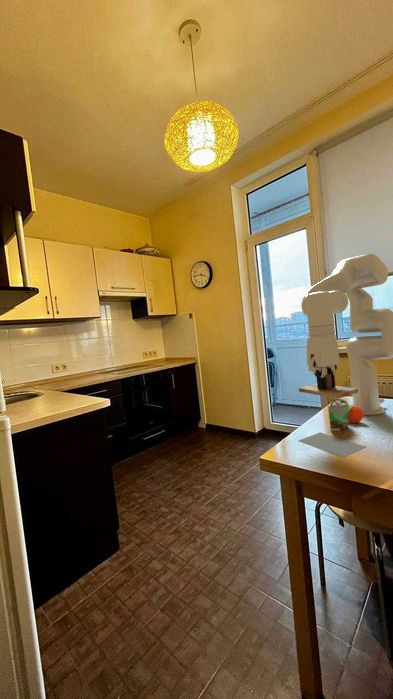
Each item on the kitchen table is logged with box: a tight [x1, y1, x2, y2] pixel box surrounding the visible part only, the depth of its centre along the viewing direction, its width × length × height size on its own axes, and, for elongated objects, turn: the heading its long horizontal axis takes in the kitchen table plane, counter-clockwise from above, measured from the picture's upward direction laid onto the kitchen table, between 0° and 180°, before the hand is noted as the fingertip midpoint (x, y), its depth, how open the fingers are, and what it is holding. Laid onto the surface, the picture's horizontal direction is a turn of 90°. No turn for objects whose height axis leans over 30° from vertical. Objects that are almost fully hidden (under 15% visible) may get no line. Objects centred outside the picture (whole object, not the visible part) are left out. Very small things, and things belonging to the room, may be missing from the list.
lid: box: [298, 373, 358, 399], centre depth 93 cm, size 9×15×6 cm, turn 27°
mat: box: [297, 432, 367, 459], centre depth 93 cm, size 11×17×1 cm, turn 27°
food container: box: [327, 397, 350, 432], centre depth 106 cm, size 12×6×10 cm, turn 148°
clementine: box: [347, 404, 364, 424], centre depth 110 cm, size 8×7×7 cm
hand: (326, 387), depth 93 cm, fingers closed on lid, 3 cm apart
